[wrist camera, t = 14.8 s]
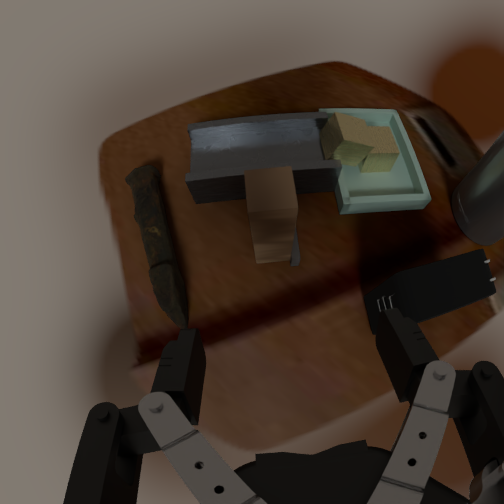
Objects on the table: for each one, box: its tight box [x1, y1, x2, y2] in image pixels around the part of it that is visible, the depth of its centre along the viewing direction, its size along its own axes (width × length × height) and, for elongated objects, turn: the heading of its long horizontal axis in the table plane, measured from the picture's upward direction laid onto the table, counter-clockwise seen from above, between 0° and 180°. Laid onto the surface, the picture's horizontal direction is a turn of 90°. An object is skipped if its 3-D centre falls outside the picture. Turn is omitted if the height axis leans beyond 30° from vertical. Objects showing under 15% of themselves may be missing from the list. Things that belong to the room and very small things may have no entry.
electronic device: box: [364, 249, 496, 335], centre depth 26 cm, size 4×10×10 cm, turn 101°
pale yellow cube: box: [319, 112, 375, 167], centre depth 32 cm, size 4×4×4 cm
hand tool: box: [125, 165, 188, 329], centre depth 32 cm, size 19×4×5 cm, turn 17°
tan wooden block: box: [244, 166, 300, 266], centre depth 28 cm, size 4×5×12 cm
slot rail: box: [185, 112, 342, 204], centre depth 34 cm, size 16×8×5 cm, turn 94°
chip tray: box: [319, 108, 431, 215], centre depth 35 cm, size 11×14×2 cm
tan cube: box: [358, 126, 400, 173], centre depth 34 cm, size 4×4×4 cm
